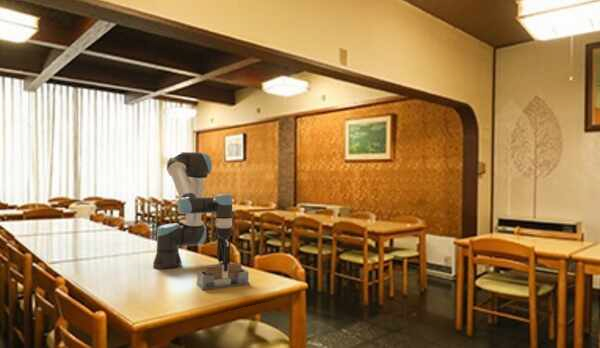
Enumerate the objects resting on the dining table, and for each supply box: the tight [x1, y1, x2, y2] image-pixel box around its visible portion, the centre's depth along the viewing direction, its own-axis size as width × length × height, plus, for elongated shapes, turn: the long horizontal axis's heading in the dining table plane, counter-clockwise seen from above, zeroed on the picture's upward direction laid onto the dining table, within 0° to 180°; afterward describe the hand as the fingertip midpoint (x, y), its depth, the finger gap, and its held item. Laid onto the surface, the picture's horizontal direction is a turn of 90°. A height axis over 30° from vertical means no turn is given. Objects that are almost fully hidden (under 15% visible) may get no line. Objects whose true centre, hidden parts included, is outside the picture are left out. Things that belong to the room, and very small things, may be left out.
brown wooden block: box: [204, 262, 242, 280], centre depth 186 cm, size 5×16×6 cm, turn 113°
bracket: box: [196, 266, 250, 291], centre depth 186 cm, size 11×22×6 cm, turn 118°
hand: (223, 276), depth 186 cm, fingers closed on brown wooden block, 5 cm apart
